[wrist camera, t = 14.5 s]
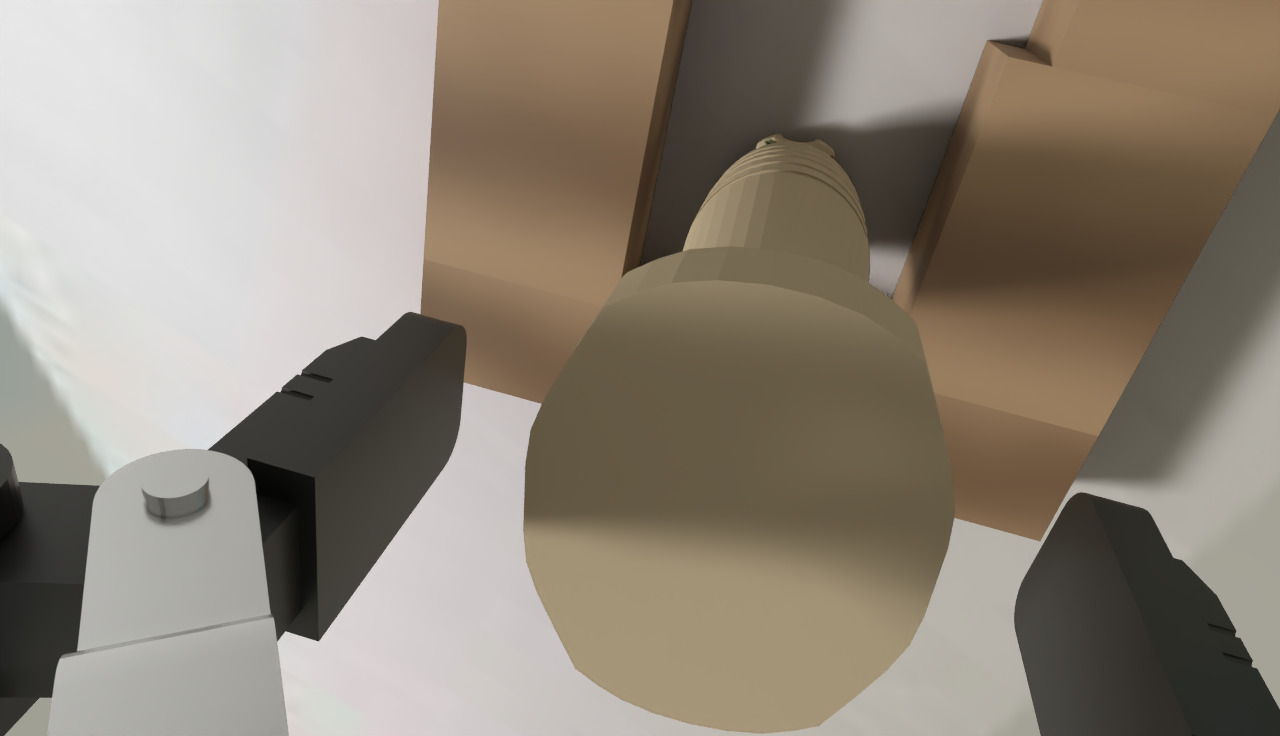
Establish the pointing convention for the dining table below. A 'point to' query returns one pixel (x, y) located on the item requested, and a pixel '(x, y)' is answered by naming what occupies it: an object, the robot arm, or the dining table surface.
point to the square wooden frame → (948, 231)
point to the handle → (743, 464)
